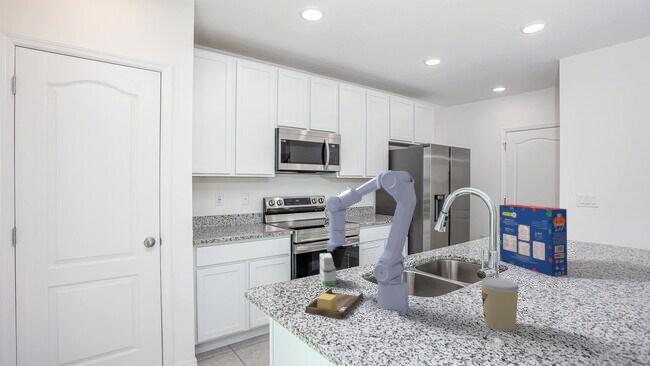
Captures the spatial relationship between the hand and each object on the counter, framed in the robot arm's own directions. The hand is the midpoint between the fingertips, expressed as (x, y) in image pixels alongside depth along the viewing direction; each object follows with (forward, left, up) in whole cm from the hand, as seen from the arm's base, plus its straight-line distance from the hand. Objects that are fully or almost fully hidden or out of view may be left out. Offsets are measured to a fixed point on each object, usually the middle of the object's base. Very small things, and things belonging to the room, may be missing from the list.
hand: (337, 267), depth 116 cm
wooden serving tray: (-4, +12, -10) cm, 16 cm away
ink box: (+8, -8, -10) cm, 16 cm away
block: (-4, +18, -9) cm, 20 cm away
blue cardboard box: (-68, -67, -10) cm, 96 cm away
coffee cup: (-51, +5, -10) cm, 52 cm away
